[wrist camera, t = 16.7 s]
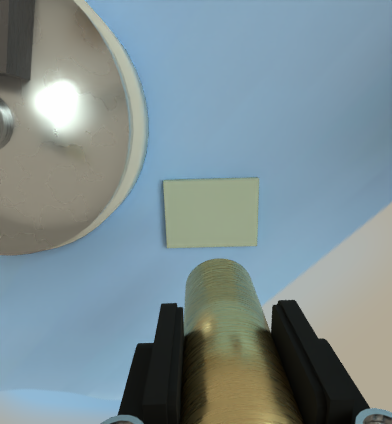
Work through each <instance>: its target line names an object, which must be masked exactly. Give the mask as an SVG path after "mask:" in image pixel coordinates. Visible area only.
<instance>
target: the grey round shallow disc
mask: <svg viewBox="0 0 392 424" xmlns="http://www.w3.org/2000/svg"><path fill="white" fill-rule="evenodd" d="M132 144H133V113H132V107H131V101H130V95H129V92H128V88H127V85H126V81H125V78H124V75H123V73H122V70H121V68H120V65H119V63H118V61H117V58H116V56H115V55H114V53H113V51H112V49H111V47H110V46H109V44H108V42H107V40H106V39H105V37H104V36H103V35H102V33H101V32H100V30H99V29H98V28H97V26H96V25H95V24H94V22H93V21H92V20H91V19H90V18H89V17H88V16H87V14H86V13H85V12H84V11H83V10H82V9H81V8H80V7H79V6H78V5H77V4H76V3H75V2H74V1H73V0H0V255H22V254H31V253H35V252H39V251H44V250H47V249H50V248H52V247H55V246H58V245H60V244H62V243H64V242H66V241H68V240H69V239H71V238H73V237H75V236H76V235H77V234H79V233H80V232H81V231H83V230H84V229H85V228H87V227H88V226H89V225H90V224H91V223H93V222H94V221H95V220H96V219H97V218H98V217H99V216H100V215H101V214H102V213H103V212H104V211H105V210H106V208H107V207H108V206H109V204H110V203H111V202H112V200H113V199H114V198H115V196H116V194H117V192H118V190H119V188H120V187H121V185H122V183H123V180H124V177H125V175H126V172H127V169H128V166H129V161H130V157H131V153H132Z"/></svg>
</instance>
